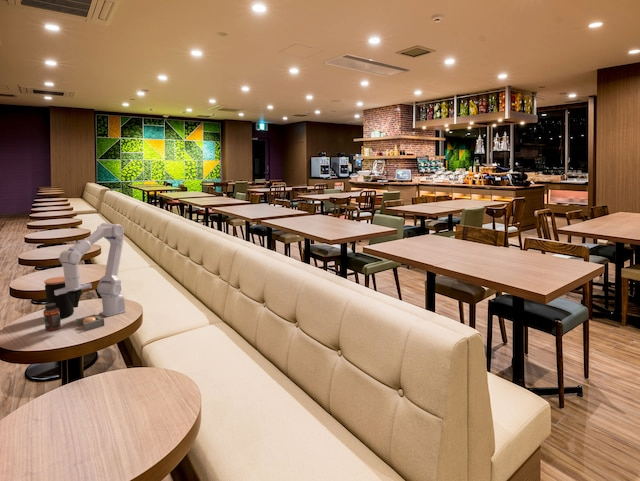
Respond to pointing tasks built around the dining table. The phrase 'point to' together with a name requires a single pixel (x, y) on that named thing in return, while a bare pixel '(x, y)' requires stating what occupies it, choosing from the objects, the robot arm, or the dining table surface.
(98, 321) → the dock
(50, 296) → the coffee jar
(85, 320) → the tan rounded knob
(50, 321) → the supplement bottle
